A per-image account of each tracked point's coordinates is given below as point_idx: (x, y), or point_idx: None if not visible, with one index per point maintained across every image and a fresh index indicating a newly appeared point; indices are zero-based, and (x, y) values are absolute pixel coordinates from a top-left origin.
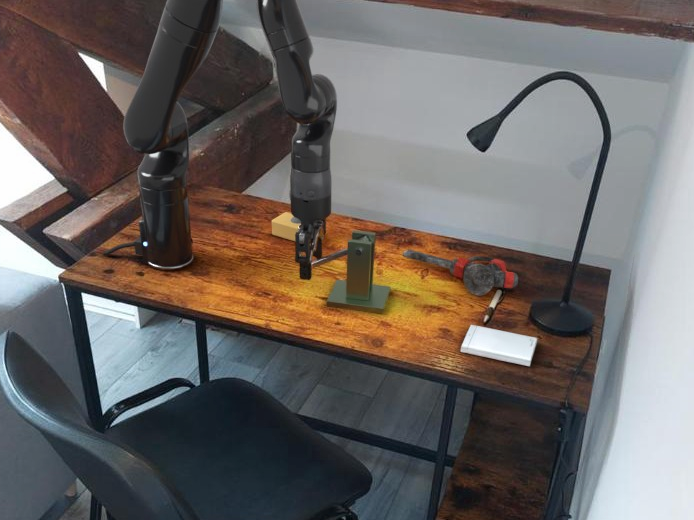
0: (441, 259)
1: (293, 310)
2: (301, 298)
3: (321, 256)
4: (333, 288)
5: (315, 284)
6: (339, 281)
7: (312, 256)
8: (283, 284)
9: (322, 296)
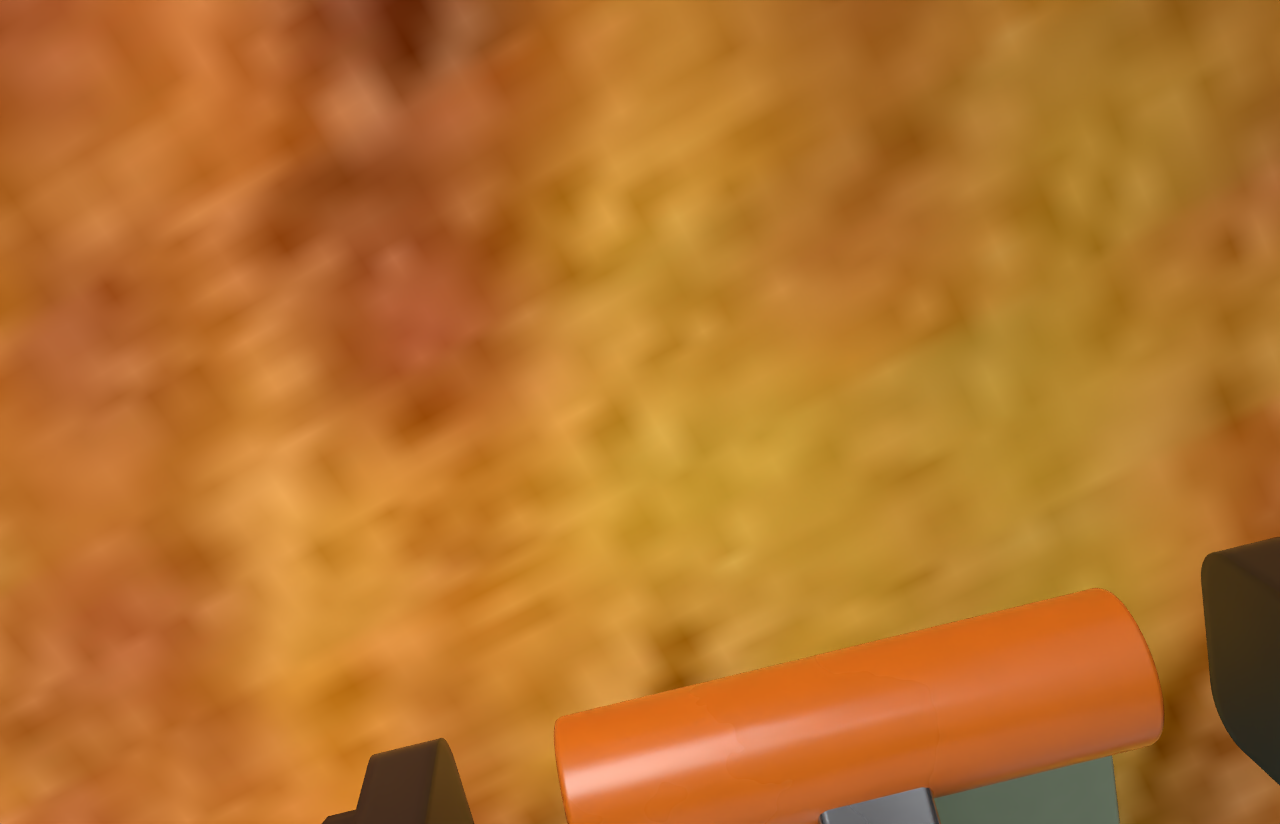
0: None
1: (207, 563)
2: (545, 502)
3: (1267, 773)
4: None
5: (977, 481)
6: (1069, 801)
7: (1148, 693)
8: (788, 86)
9: None
